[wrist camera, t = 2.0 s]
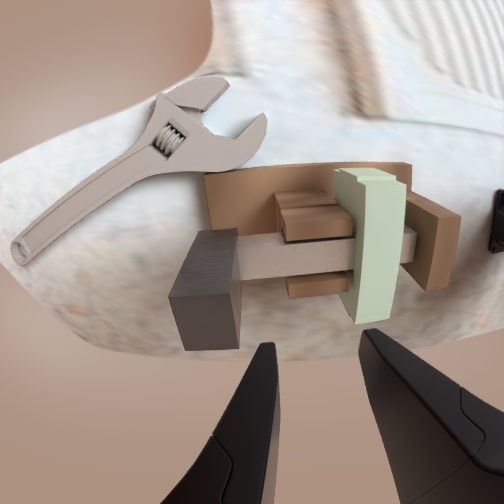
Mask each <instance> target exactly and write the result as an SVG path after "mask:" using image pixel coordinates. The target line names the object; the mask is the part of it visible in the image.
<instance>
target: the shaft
mask: <svg viewBox="0 0 504 504" xmlns="http://www.w3.org/2000/svg"><path fill="white" fill-rule="evenodd" d="M416 237H417V233H416V232H415V231H413V230H412V229H411V228H409V227H408V226H406V225H405V224H404V230H403V239H402V248H401V255H400V262H399V263H407V262H413V258H414V252H415V245H416ZM355 245H356V228H355V227H354V226H353V230H352V235H351V236H339V237H327V238H316V239H305V240H293V241H286V238H285V234H284V232H280V233H269V234H258V235H247V236H238V227H237V228H227V229H217V230H208V231H198V234H197V236H196V238H195V240H194V242H193V244H192V246H191V248H190V250H189V252H188V254H187V257H186V259H185V261H184V263H183V265H182V267H181V270H180V272H179V274H178V276H177V278H176V280H175V283H174V285H173V287H172V289H171V292H170V294H169V296H168V298H169V301H170V305H171V308H172V311H173V315H174V318H175V321H176V324H177V328H178V331H179V334H180V337H181V340H182V343H183V346H184V349H185V351H201V350H227V349H239V345H240V321H241V298H242V280H251V279H262V278H273V277H283V276H294V275H304V274H313V273H323V272H332V271H341V270H350V269H354V261H355Z"/></svg>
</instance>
